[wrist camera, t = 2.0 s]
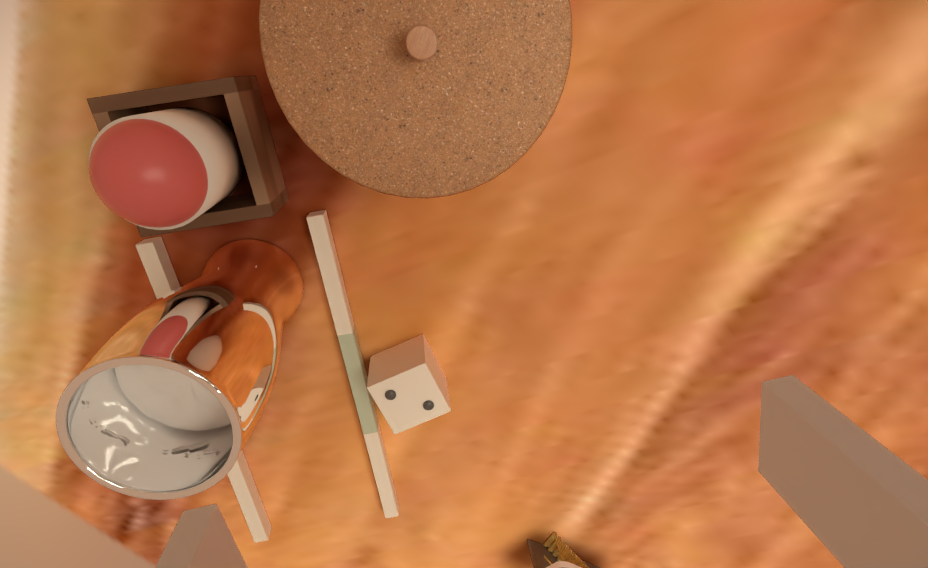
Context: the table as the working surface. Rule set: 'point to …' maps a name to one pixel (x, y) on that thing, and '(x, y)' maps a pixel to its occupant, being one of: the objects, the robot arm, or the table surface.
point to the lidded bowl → (417, 85)
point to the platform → (555, 554)
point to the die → (408, 384)
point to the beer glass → (184, 378)
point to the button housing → (249, 135)
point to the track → (324, 246)
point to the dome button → (164, 166)
